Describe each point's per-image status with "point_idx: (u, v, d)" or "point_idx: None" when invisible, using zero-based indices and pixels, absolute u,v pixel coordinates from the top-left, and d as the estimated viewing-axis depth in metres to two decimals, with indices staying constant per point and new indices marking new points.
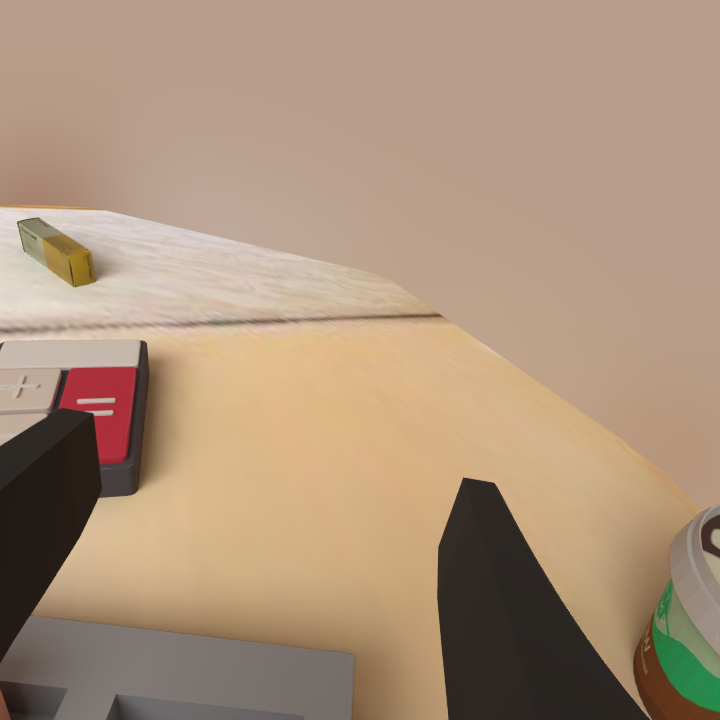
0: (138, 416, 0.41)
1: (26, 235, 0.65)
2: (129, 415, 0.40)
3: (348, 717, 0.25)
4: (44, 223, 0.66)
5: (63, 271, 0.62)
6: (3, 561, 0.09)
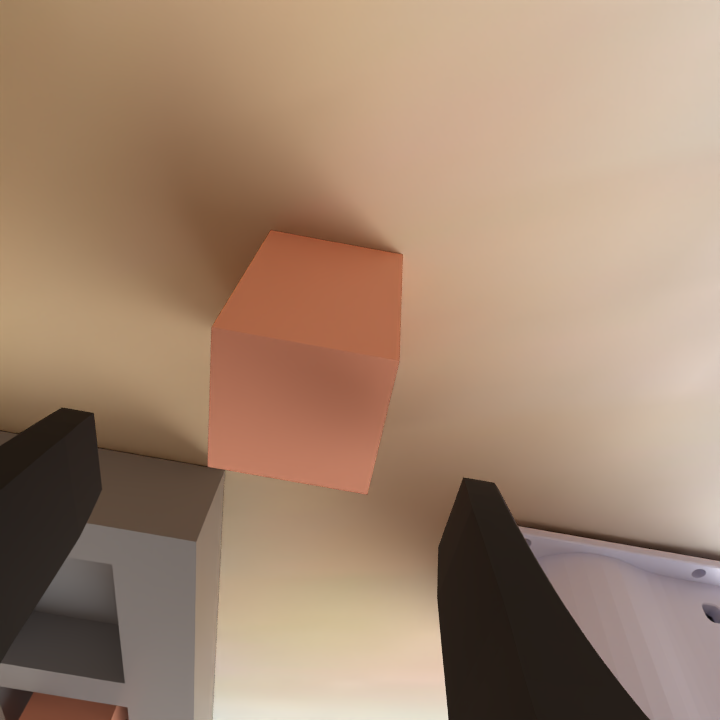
0: None
1: None
2: None
3: None
4: None
5: None
6: (3, 561, 0.09)
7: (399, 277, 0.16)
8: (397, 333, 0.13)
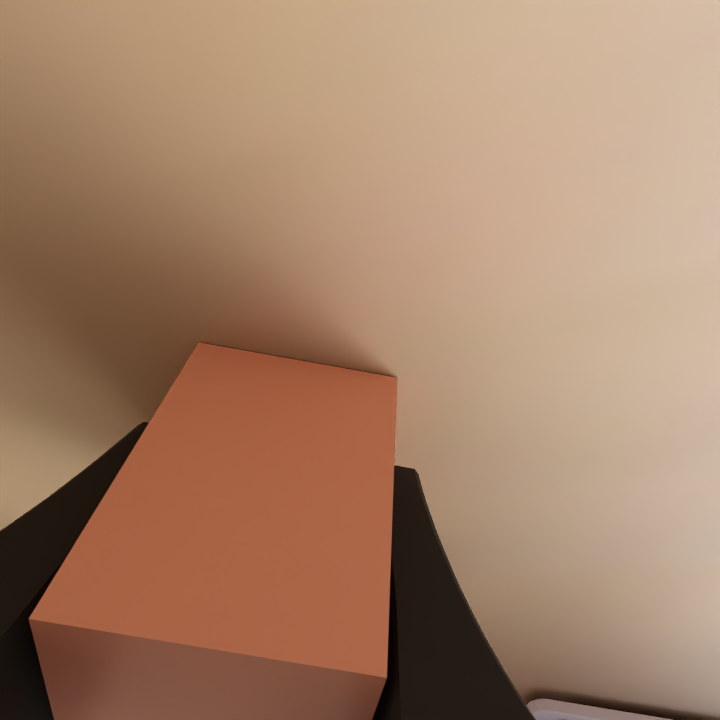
0: None
1: None
2: None
3: None
4: None
5: None
6: None
7: (391, 432, 0.10)
8: (384, 587, 0.07)
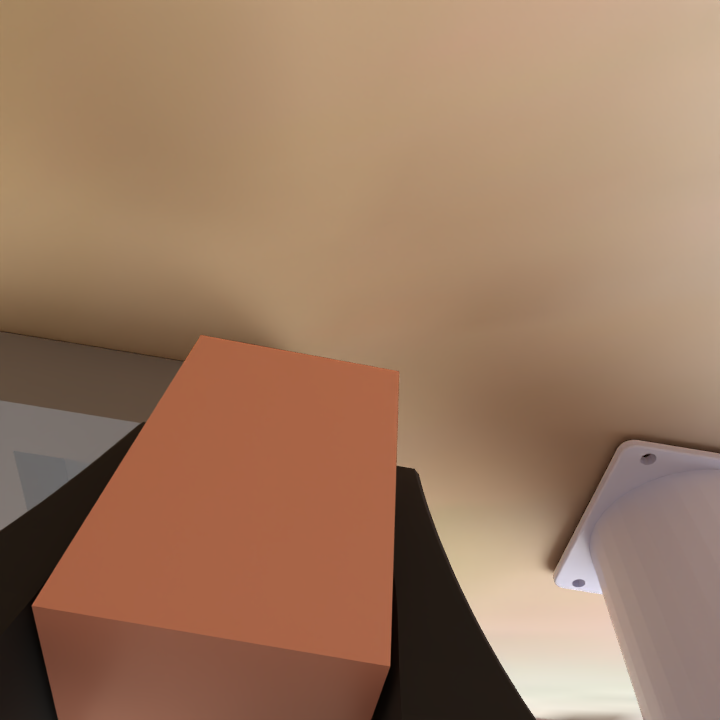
0: None
1: None
2: None
3: None
4: None
5: None
6: None
7: (393, 424, 0.10)
8: (387, 577, 0.07)
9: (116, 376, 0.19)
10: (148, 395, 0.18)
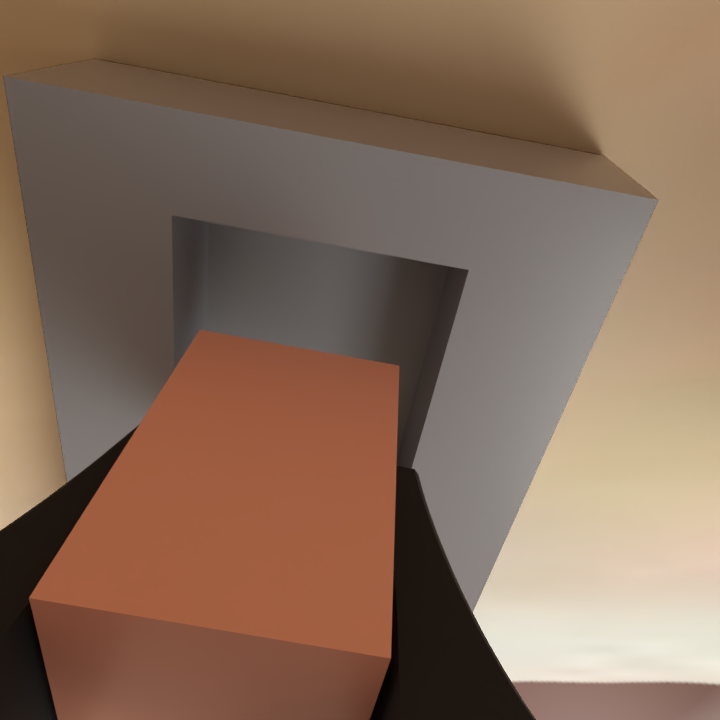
0: None
1: None
2: None
3: (163, 113, 0.10)
4: None
5: None
6: None
7: (393, 418, 0.10)
8: (388, 569, 0.07)
9: (326, 114, 0.12)
10: (387, 133, 0.12)
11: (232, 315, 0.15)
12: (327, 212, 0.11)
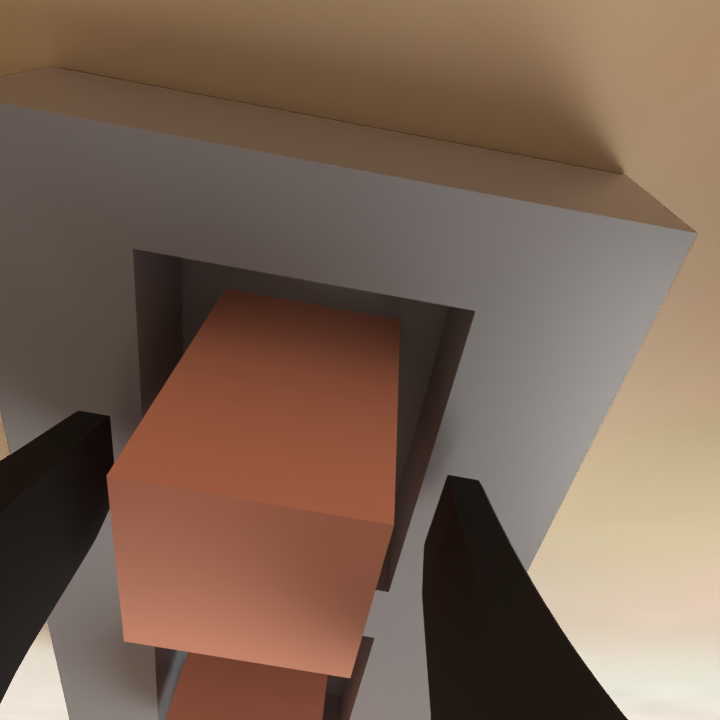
0: None
1: None
2: None
3: (118, 133, 0.09)
4: None
5: None
6: (23, 564, 0.09)
7: (395, 359, 0.12)
8: (391, 466, 0.09)
9: (311, 131, 0.11)
10: (381, 154, 0.10)
11: None
12: (312, 246, 0.10)
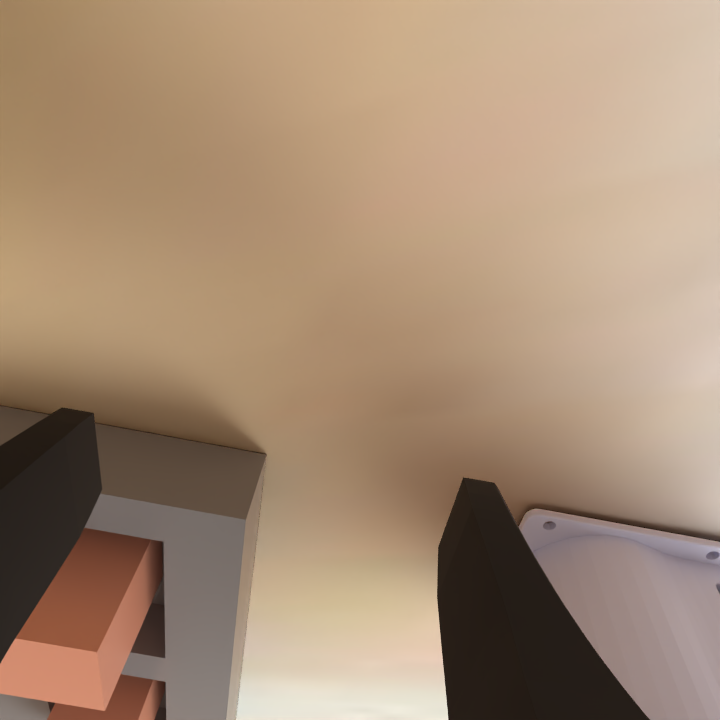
0: None
1: None
2: None
3: None
4: None
5: None
6: (3, 561, 0.09)
7: (144, 550, 0.23)
8: (110, 620, 0.21)
9: None
10: (121, 468, 0.22)
11: None
12: None
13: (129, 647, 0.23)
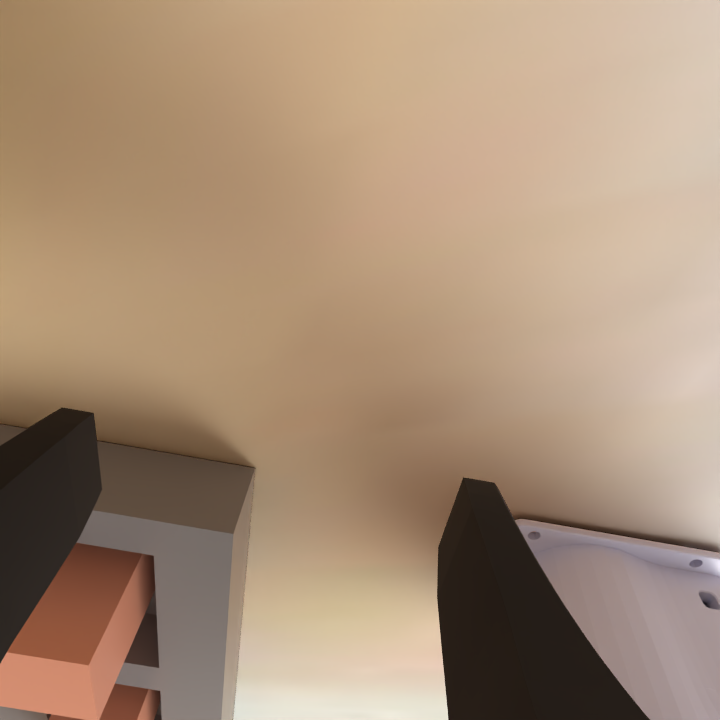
0: None
1: None
2: None
3: None
4: None
5: None
6: (3, 561, 0.09)
7: (136, 563, 0.24)
8: (101, 634, 0.21)
9: None
10: (111, 484, 0.22)
11: None
12: None
13: (122, 658, 0.24)
